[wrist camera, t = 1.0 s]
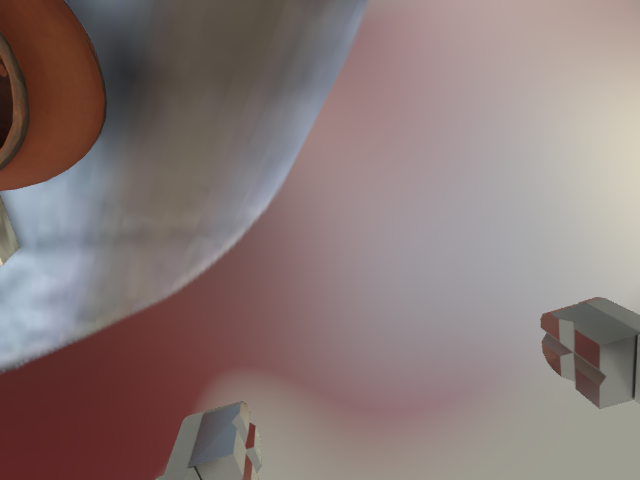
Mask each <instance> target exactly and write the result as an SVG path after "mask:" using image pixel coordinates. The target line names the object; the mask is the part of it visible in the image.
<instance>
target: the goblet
mask: <svg viewBox="0 0 640 480" xmlns="http://www.w3.org/2000/svg"><path fill="white" fill-rule="evenodd" d="M106 104H107V102H106V90H105V84H104V79H103V75H102V72H101V68H100V65H99V61H98V58H97V55H96V52H95V49H94V47H93V45H92V43H91V40H90V38H89V37H88V35H87V33H86V31H85V30H84V28H83V26H82V25H81V23H80V22H79V20H78V19H77V17H76V16H75V14H74V13H73V12H72V10H71V9H70V8H69V6H68V5H67V4H66V3H65V1H64V0H0V191H4V190H14V189H19V188H23V187H27V186H31V185H34V184H38V183H41V182H44V181H47V180H49V179H51V178H53V177H55V176H57V175H59V174H61V173H63V172H64V171H66V170H68V169H69V168H71V167H72V166H73V165H75V164H76V163H77V162H78V161H79V160H81V159H82V158H83V157H84V156H85V155H86V154H87V152H88V151H89V150H90V149H91V147H92V146H93V145H94V143H95V142H96V140H97V139H98V137H99V135H100V133H101V131H102V128H103V125H104V122H105V119H106Z"/></svg>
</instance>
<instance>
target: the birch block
mask: <svg viewBox="0 0 640 480" xmlns="http://www.w3.org/2000/svg"><path fill="white" fill-rule="evenodd" d="M18 249H19V244H18V242H17V239H16V236H15V234H14V231H13V228H12V226H11V223H10V220H9V218H8V215H7V212H6V210H5V207H4V204H3V202H2V199H1V196H0V265H3V264H4V263H5V262H6V261H7V260H8V259H9V258H10V257H11V256H12V255H13V254H14V253H15V252H16V251H17V250H18Z"/></svg>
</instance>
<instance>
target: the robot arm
mask: <svg viewBox="0 0 640 480" xmlns="http://www.w3.org/2000/svg"><path fill="white" fill-rule="evenodd" d="M540 320H541V328H542V329H543V330H544V331H545V332H546V335H545V337H544V338H543V340H542V349H543V354H544V356H545V358H546V360H547V362H548V364H549V365H550V366H551V367H552V369H553V370H554V371H555V372H556V373H558V374H559V375H560V376H561V377H563V378H567V379H570V380H572V381H574V382H575V387H576V390H578V391H579V392H580V393H581V394H582V395H583V396H585V397H586V398H587V399H588V400H590V401H591V402H592V403H593V404H594V405H596V406H597V407H598V408H599V409H602V408H605V407H609V406H613V405H616V404H620V403H624V402H628V401H631V400H635V402H637V403H639V404H640V315H638V314H636V313H634V312H632V311H630V310H628V309H626V308H624V307H622V306H620V305H618V304H616V303H614V302H612V301H610V300H608V299H606V298H601V297H595V298H592V299H589V300H585V301H582V302H579V303H578V304H574V305H571V306H568V307H565V308H561V309H558V310H554V311H551V312H548V313H544V314H543V315H542V317H541V319H540ZM249 421H250V411H249V408H248V406H247V404H246V403H245V402H244V401H241V402H238V403H234V404H230V405H226V406H223V407H219V408H215V409H211V410H208V411H206V412H201V413H198V414H194V415H190V416H187V417H186V418H185V419H184V421H183V422H182V425H181V428H180V431H179V434H178V437H177V439H176V443H175V445H174V448H173V451H172V454H171V457H170V460H169V462H168V465H167V468H166V471H165V474H164V476H161V477H158V478H157V479H156V480H259V478H258V476H257V472H258V471H259V469H260V468H261V466H262V449H261V441H260V437H259V433H258V430H257V428H256V426H255V425H254V424H252V423H250V422H249Z"/></svg>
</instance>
